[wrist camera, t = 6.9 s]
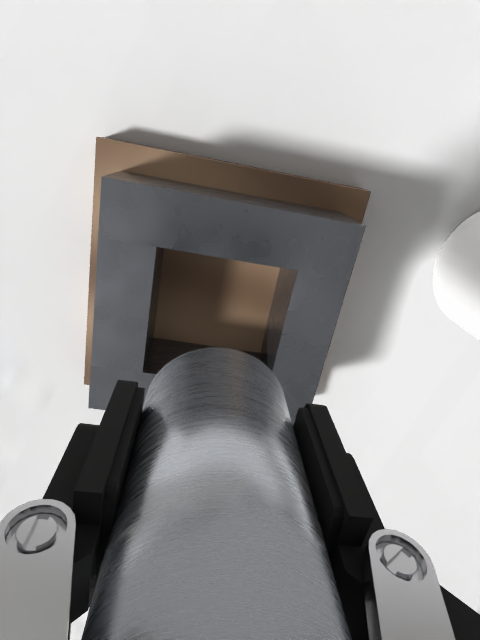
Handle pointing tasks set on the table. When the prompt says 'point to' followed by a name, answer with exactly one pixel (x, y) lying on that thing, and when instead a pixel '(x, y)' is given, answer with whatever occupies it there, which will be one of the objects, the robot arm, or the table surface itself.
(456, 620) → the robot arm
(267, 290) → the dock board
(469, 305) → the mug
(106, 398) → the socket block
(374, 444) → the table surface
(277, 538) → the steel peg
